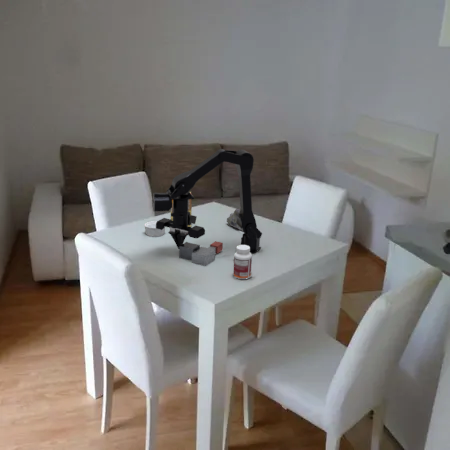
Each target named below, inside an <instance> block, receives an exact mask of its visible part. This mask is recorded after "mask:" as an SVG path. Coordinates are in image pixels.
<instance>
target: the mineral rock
mask: <svg viewBox="0 0 450 450" xmlns="http://www.w3.org/2000/svg"><path fill="white" fill-rule="evenodd" d="M240 209H241V208H240V207H238V208H237V209H235V210H234V211H233V212H231V213H230V214H229V215H228V217H227V218H226V223H227V224H228V225H230V226H231V227H233V228H236V229H238V230H240V231H242V230H241V229H240V227H239V226H238V224H237V223H236V221H237V218H236V214H239V212H240Z"/></svg>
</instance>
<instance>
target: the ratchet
mask: <svg viewBox="0 0 450 450" xmlns="http://www.w3.org/2000/svg"><path fill="white" fill-rule="evenodd" d="M223 247H224V243H223V242H220V241H217V240H216V241H213V242H212V243H211V244H209V247H204V246H200V248H199V249H197V250H195V251H194V252H192V261H191V263H193V264H195V265H200V266H204V267H207V266H208V265H210V264H212V262H214V261H215V260H216V254H220V252H222V251H223V249H224V248H223Z"/></svg>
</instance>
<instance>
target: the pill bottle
mask: <svg viewBox="0 0 450 450" xmlns="http://www.w3.org/2000/svg"><path fill="white" fill-rule="evenodd" d="M252 255H253V253H251V252H250V247H249V246H247V245H241V244H239V245H237V246H236V252H235V253H234V254H233V273H232V274H233V276H234V277H236V278H235V279H237V278H239V280H247V279H246V278H248V279H249V277H250V278H251V277H252V264H253V263H252V261H253V259H252V258H253V256H252Z"/></svg>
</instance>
